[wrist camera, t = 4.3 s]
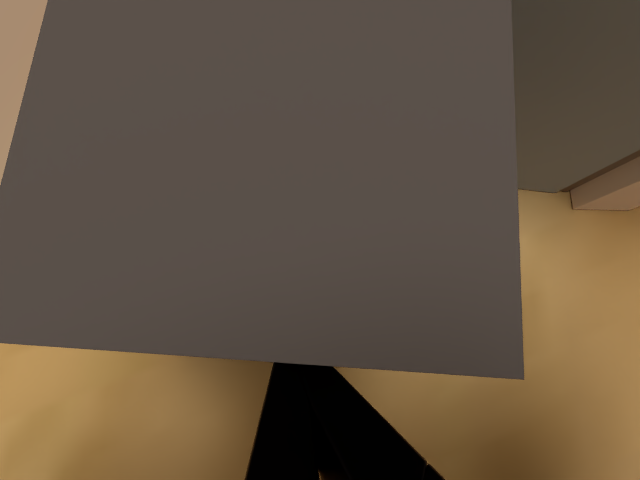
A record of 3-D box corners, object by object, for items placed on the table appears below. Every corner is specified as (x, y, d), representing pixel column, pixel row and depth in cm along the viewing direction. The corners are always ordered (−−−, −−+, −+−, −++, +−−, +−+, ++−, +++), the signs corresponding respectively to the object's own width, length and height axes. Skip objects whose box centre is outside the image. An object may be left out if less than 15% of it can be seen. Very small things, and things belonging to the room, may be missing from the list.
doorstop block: (348, 352, 16) (524, 380, 5) (177, 340, 15) (-39, 340, 4) (358, 170, 17) (507, -104, 7) (204, 152, 17) (93, -181, 6)
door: (575, 195, 18) (1123, -62, 7) (190, 150, 17) (11, -291, 5) (570, 129, 19) (1059, -208, 7) (200, 80, 17) (66, -451, 6)
